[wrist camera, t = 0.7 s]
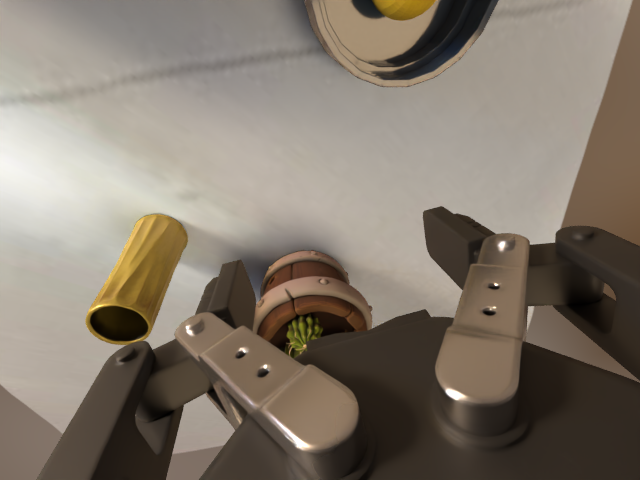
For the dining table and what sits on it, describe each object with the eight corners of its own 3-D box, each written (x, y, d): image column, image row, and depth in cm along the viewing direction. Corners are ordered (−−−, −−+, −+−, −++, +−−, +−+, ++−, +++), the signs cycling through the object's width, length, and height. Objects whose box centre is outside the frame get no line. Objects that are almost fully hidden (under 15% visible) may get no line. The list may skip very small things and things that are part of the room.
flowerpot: (242, 308, 49) (229, 457, 33) (265, 222, 41) (265, 360, 25) (333, 320, 53) (363, 457, 37) (370, 244, 45) (429, 374, 29)
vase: (162, 204, 38) (116, 289, 26) (198, 240, 41) (172, 330, 30) (122, 229, 39) (61, 321, 28) (161, 262, 43) (121, 357, 31)
